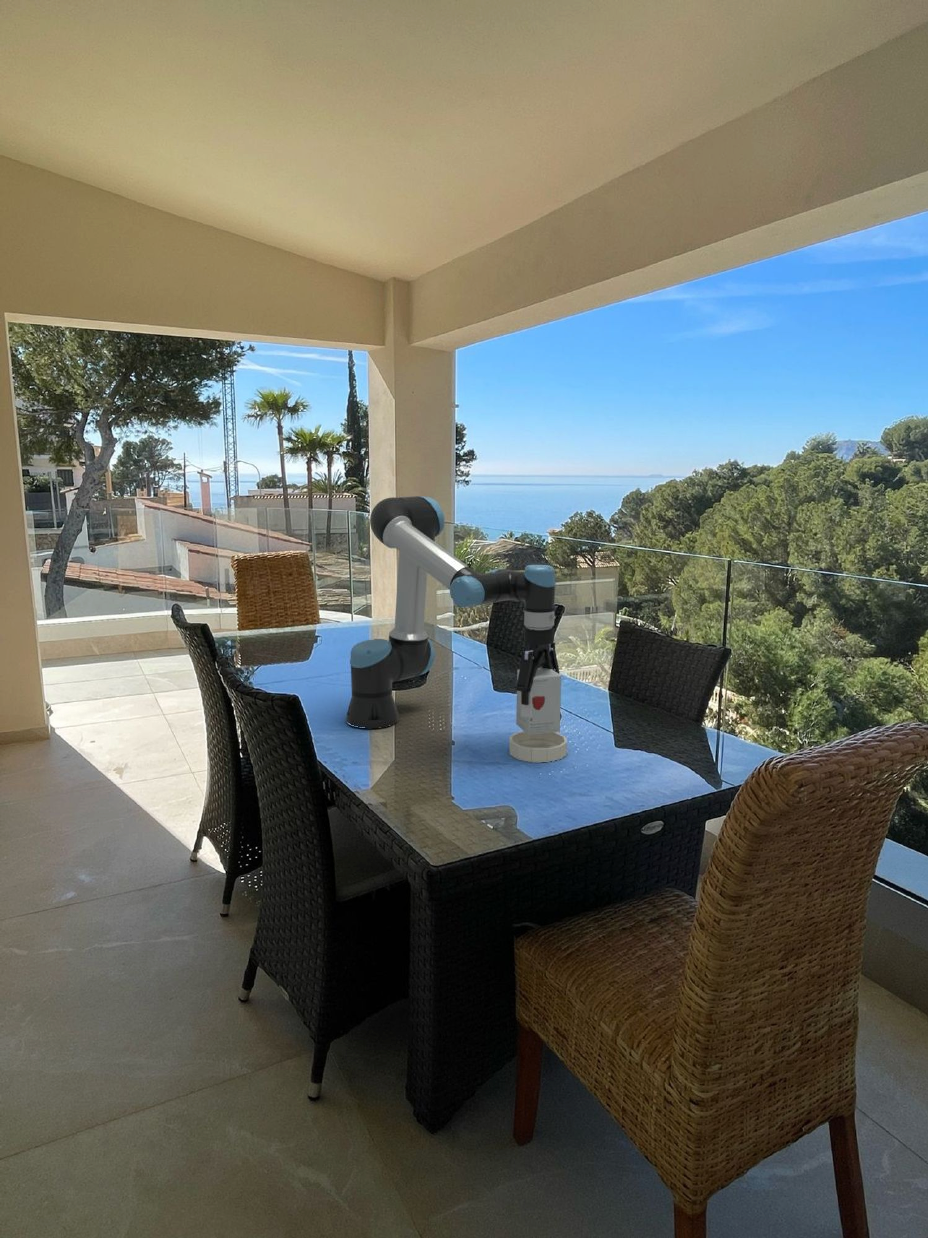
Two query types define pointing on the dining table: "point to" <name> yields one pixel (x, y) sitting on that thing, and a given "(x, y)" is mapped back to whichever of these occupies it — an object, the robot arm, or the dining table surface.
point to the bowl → (538, 746)
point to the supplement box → (542, 703)
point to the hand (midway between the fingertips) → (538, 710)
